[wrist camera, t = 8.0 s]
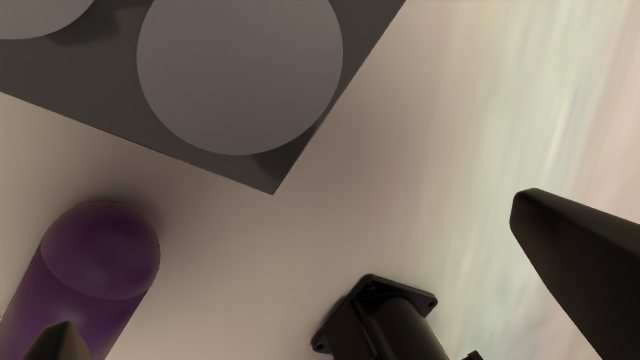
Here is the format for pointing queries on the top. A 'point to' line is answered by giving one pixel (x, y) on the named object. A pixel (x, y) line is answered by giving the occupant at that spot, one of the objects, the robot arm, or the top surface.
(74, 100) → the stove
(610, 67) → the top surface
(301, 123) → the burners
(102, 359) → the eggplant
